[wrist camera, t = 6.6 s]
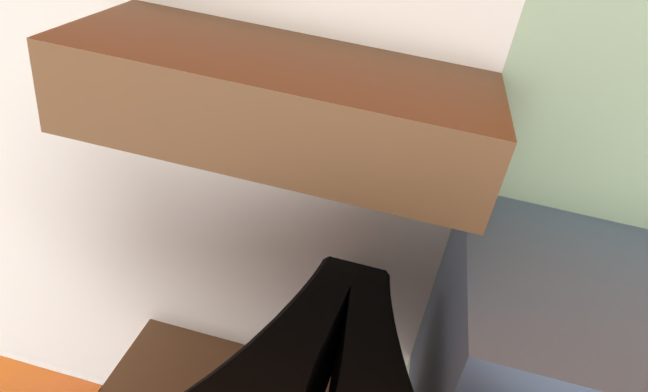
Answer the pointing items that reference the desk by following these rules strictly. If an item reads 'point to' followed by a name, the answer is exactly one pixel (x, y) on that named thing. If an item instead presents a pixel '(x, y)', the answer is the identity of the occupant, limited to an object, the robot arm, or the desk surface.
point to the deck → (285, 158)
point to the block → (537, 306)
